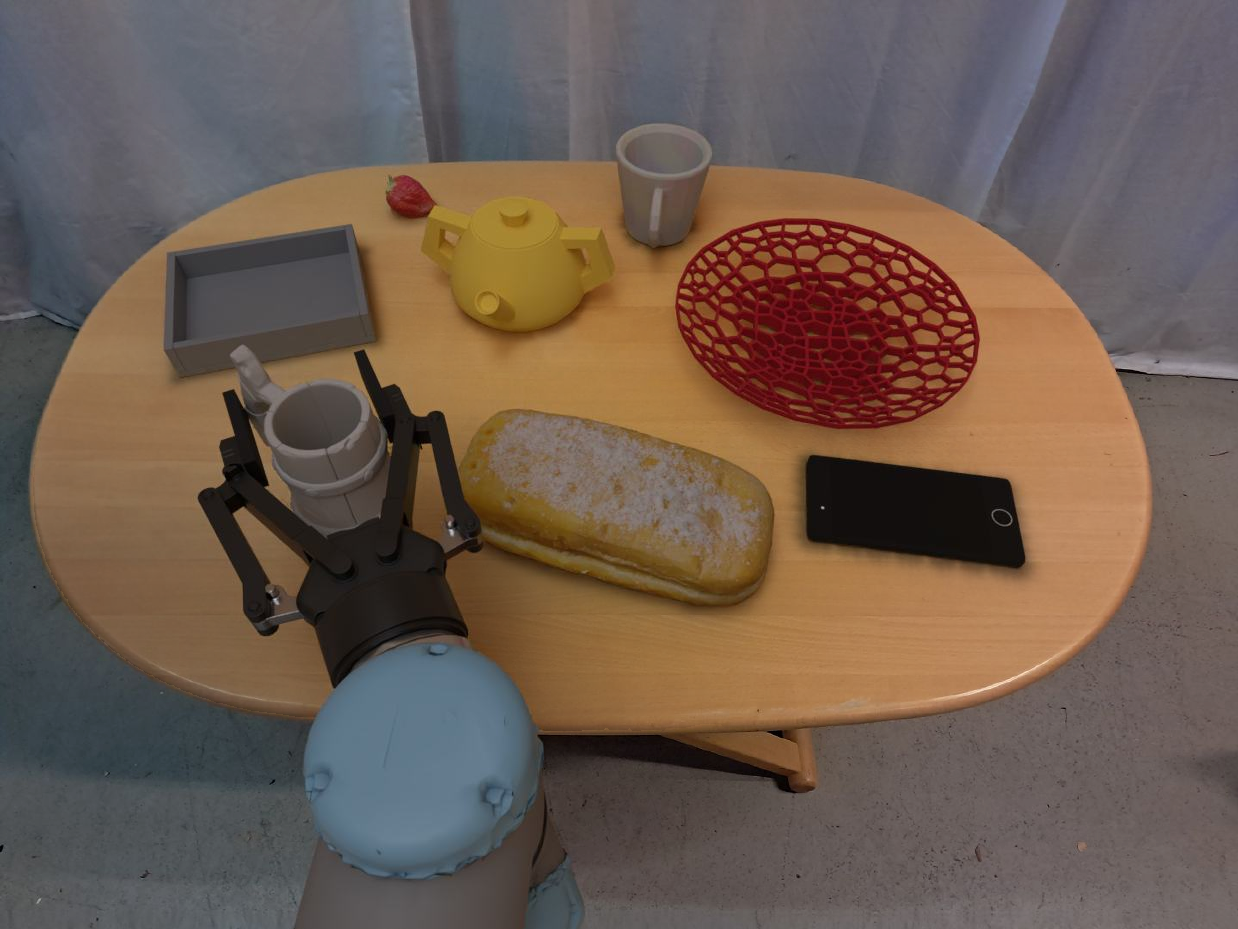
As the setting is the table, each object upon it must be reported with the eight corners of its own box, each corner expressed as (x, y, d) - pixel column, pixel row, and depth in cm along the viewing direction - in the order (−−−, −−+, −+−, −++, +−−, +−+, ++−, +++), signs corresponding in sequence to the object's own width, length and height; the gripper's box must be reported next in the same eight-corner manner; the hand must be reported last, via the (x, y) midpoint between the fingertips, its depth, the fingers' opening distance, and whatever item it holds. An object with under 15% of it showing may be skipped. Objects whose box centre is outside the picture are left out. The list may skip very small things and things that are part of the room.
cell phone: (1022, 569, 67) (1027, 564, 66) (806, 541, 68) (808, 535, 67) (1006, 484, 72) (1010, 478, 71) (805, 459, 73) (808, 453, 72)
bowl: (991, 469, 73) (1015, 434, 69) (670, 452, 73) (675, 416, 69) (929, 262, 91) (945, 225, 87) (671, 248, 91) (675, 210, 87)
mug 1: (355, 571, 54) (304, 464, 44) (235, 489, 57) (164, 373, 48) (432, 494, 58) (400, 380, 48) (315, 422, 61) (264, 302, 52)
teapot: (396, 355, 80) (372, 266, 71) (449, 241, 91) (434, 152, 82) (594, 382, 78) (595, 295, 69) (623, 263, 89) (627, 175, 80)
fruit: (432, 226, 92) (425, 188, 88) (382, 220, 92) (372, 182, 89) (442, 204, 95) (436, 166, 91) (393, 199, 95) (384, 161, 91)
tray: (180, 378, 77) (163, 349, 74) (181, 281, 85) (166, 252, 82) (376, 341, 81) (368, 313, 78) (359, 252, 89) (351, 223, 86)
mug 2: (704, 204, 96) (715, 126, 88) (697, 285, 87) (708, 207, 79) (618, 195, 97) (621, 117, 89) (602, 276, 88) (603, 196, 80)
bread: (491, 434, 74) (482, 374, 68) (776, 496, 71) (794, 439, 64) (437, 555, 66) (421, 500, 60) (755, 631, 63) (773, 582, 56)
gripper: (229, 777, 43) (162, 469, 55) (581, 620, 49) (452, 374, 61) (172, 730, 37) (110, 395, 49) (581, 558, 43) (438, 298, 55)
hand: (300, 384), depth 55 cm, fingers closed on mug 1, 8 cm apart
